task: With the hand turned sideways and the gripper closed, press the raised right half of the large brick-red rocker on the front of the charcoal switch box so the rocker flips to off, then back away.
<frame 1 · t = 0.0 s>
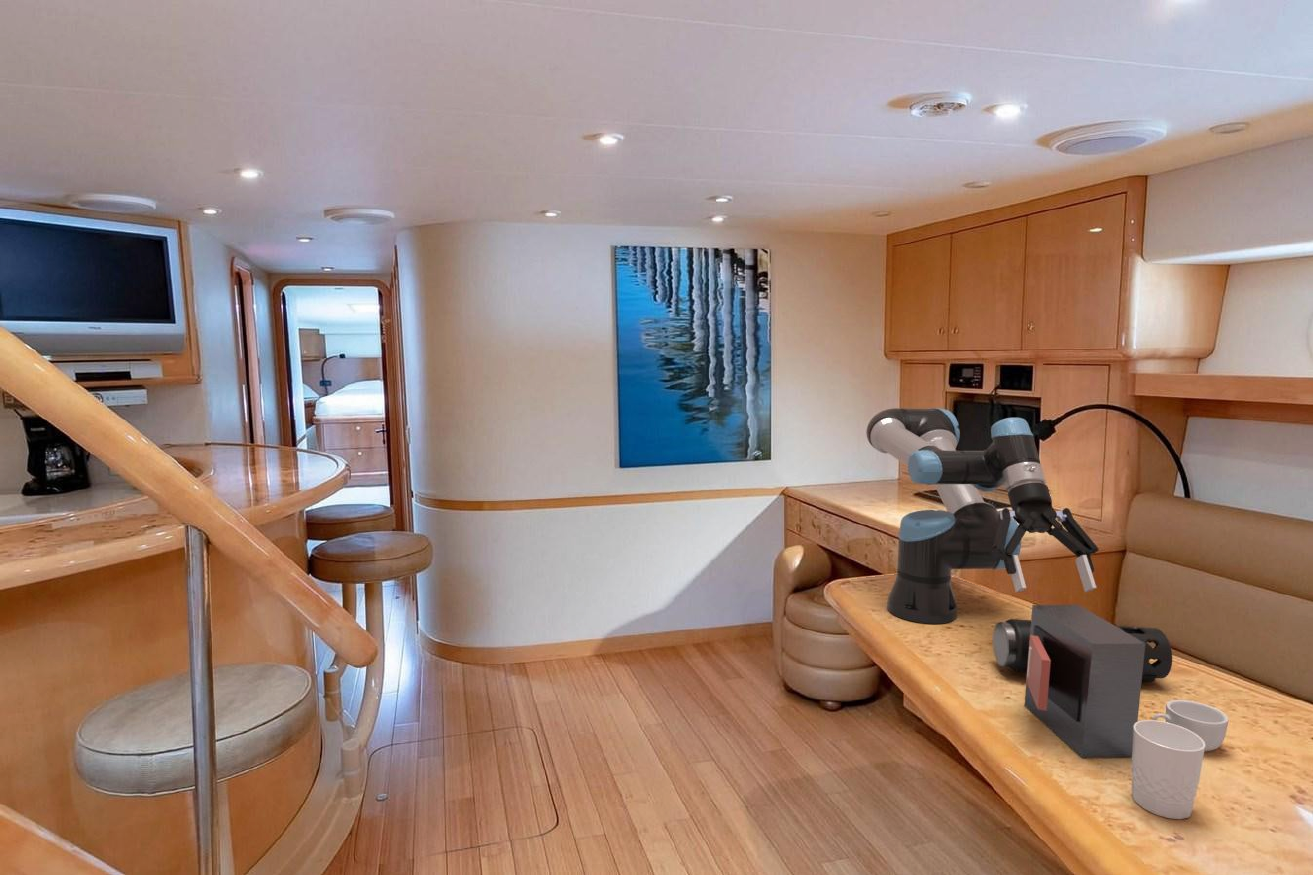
hand: (1055, 590, 139), 15 cm above the table, tool tilted 35°, fingers open, 13 cm apart
teacup: (1185, 744, 114), on the table
rocker: (1037, 671, 116), point 10 cm above the table, hinge at -20.0°
muzzle brake: (1075, 677, 137), on the table
white cup: (1161, 805, 99), on the table
switch box: (1075, 729, 118), on the table
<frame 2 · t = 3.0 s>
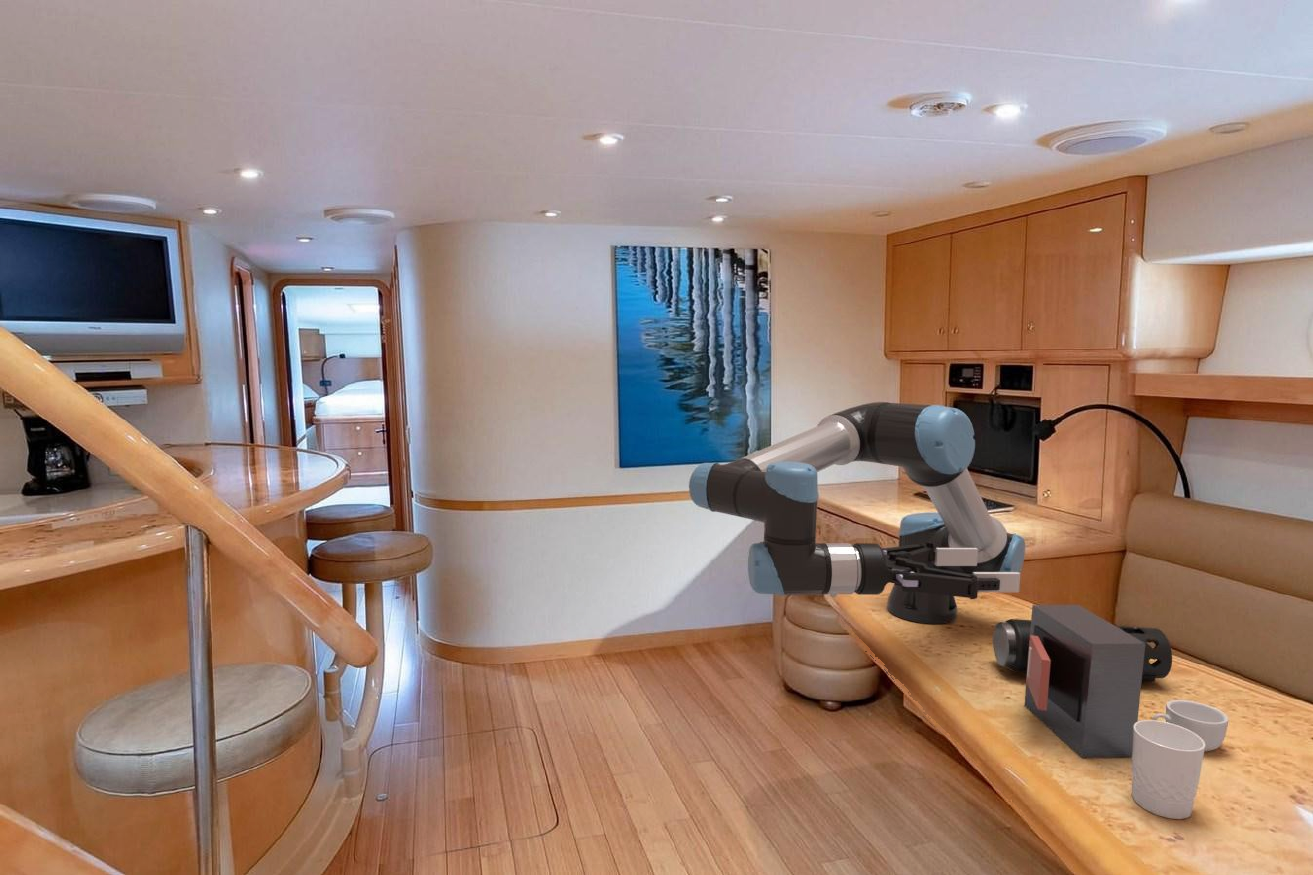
hand: (996, 568, 109), 28 cm above the table, tool horizontal, fingers open, 12 cm apart
nothing on the table moved.
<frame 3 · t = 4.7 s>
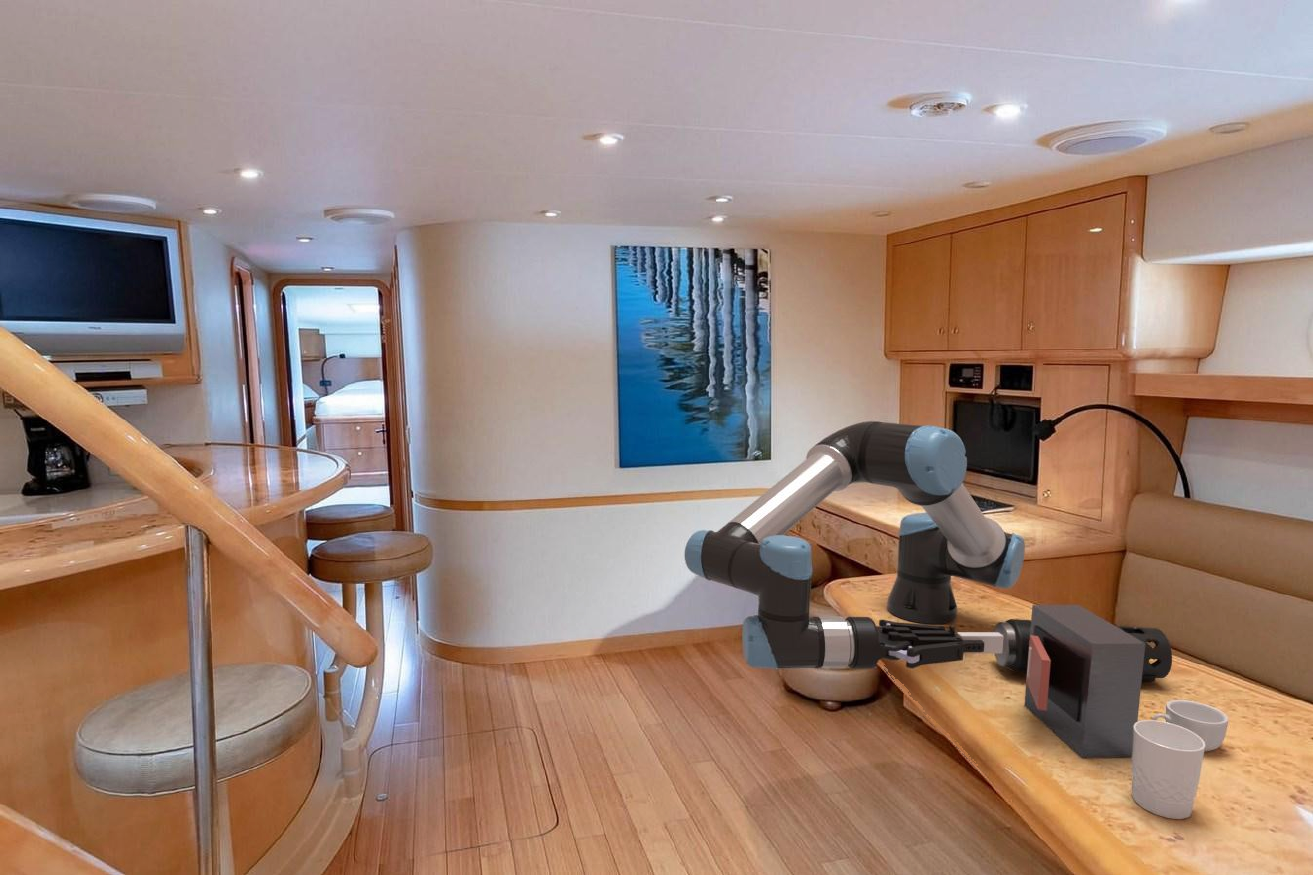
hand: (1000, 642, 110), 17 cm above the table, tool horizontal, fingers closed
nothing on the table moved.
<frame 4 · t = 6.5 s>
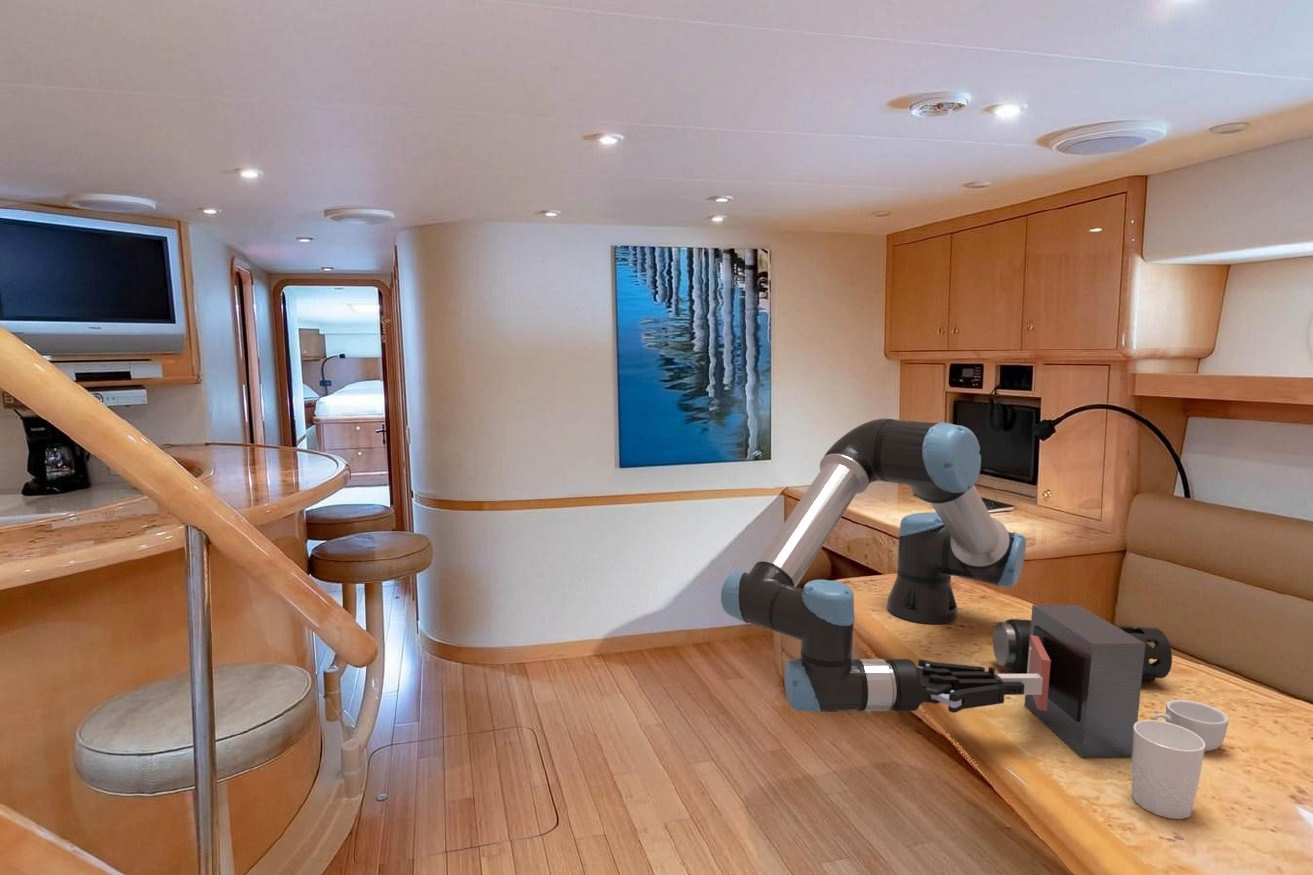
hand: (1039, 684, 112), 10 cm above the table, tool horizontal, fingers closed
rocker: (1037, 671, 116), point 10 cm above the table, hinge at -20.0°, touching gripper
everything else where it was.
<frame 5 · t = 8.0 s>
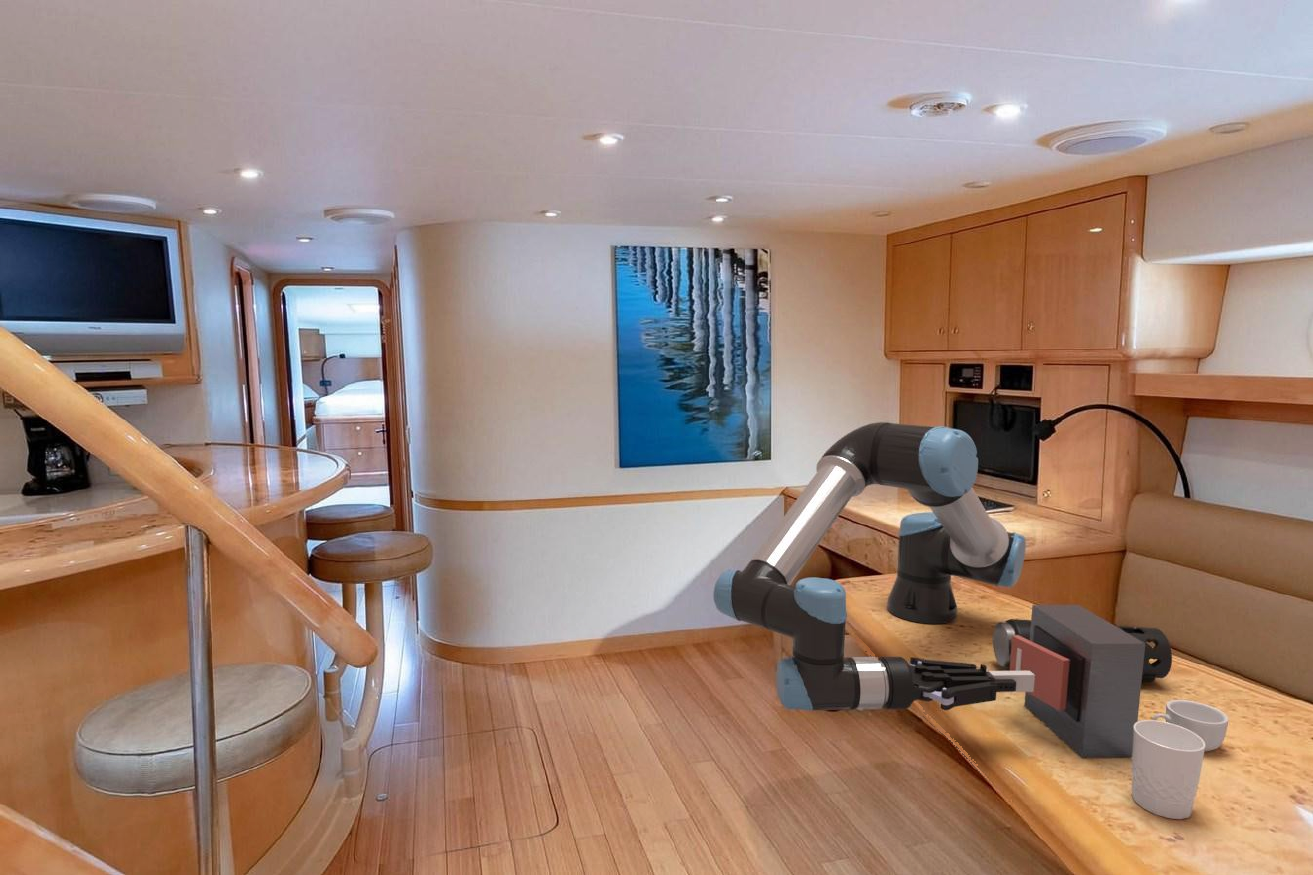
hand: (1031, 681, 112), 10 cm above the table, tool horizontal, fingers closed
rocker: (1037, 671, 116), point 10 cm above the table, hinge at 16.5°
everything else where it was.
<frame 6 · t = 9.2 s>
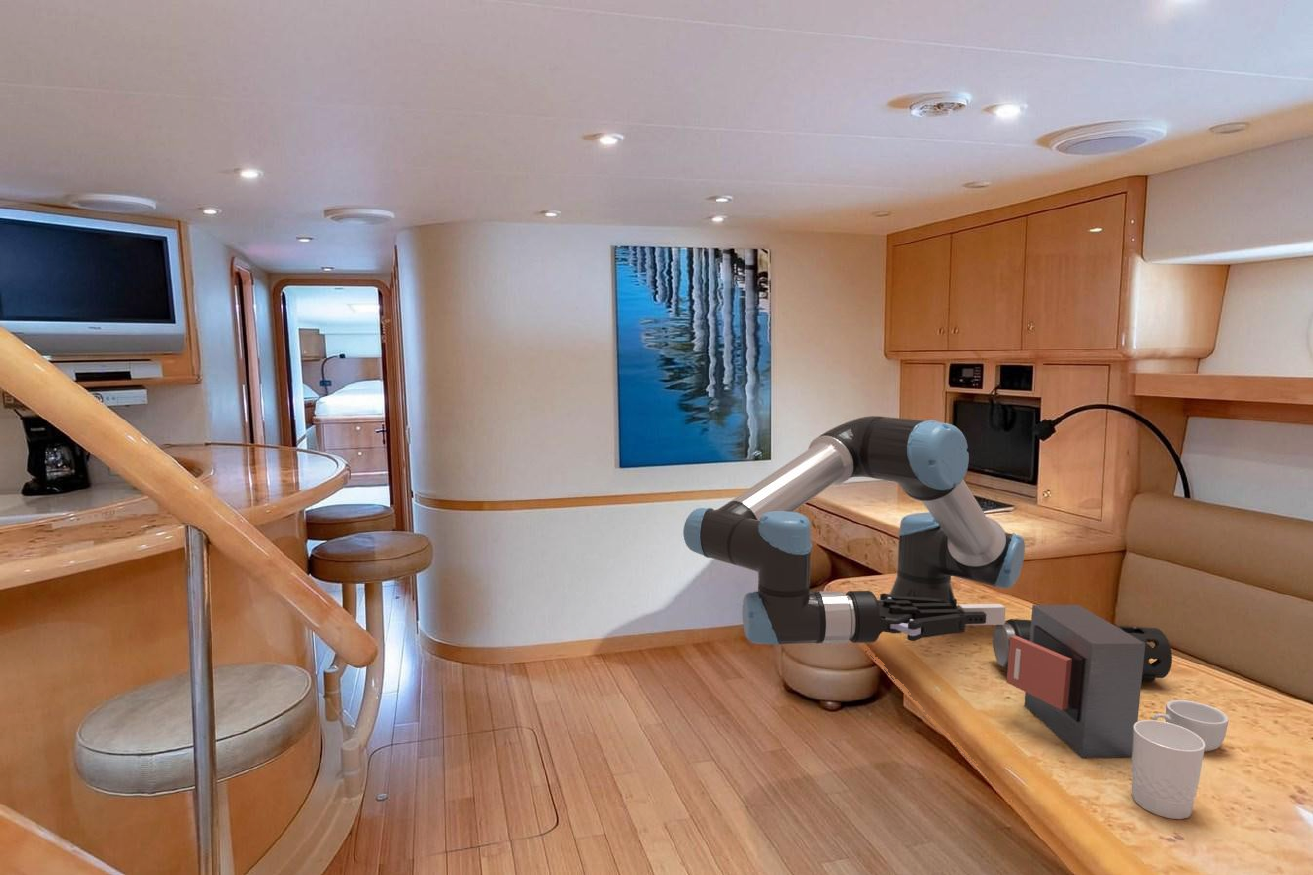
hand: (1002, 614, 110), 21 cm above the table, tool horizontal, fingers closed
rocker: (1037, 671, 116), point 10 cm above the table, hinge at 22.6°
everything else where it was.
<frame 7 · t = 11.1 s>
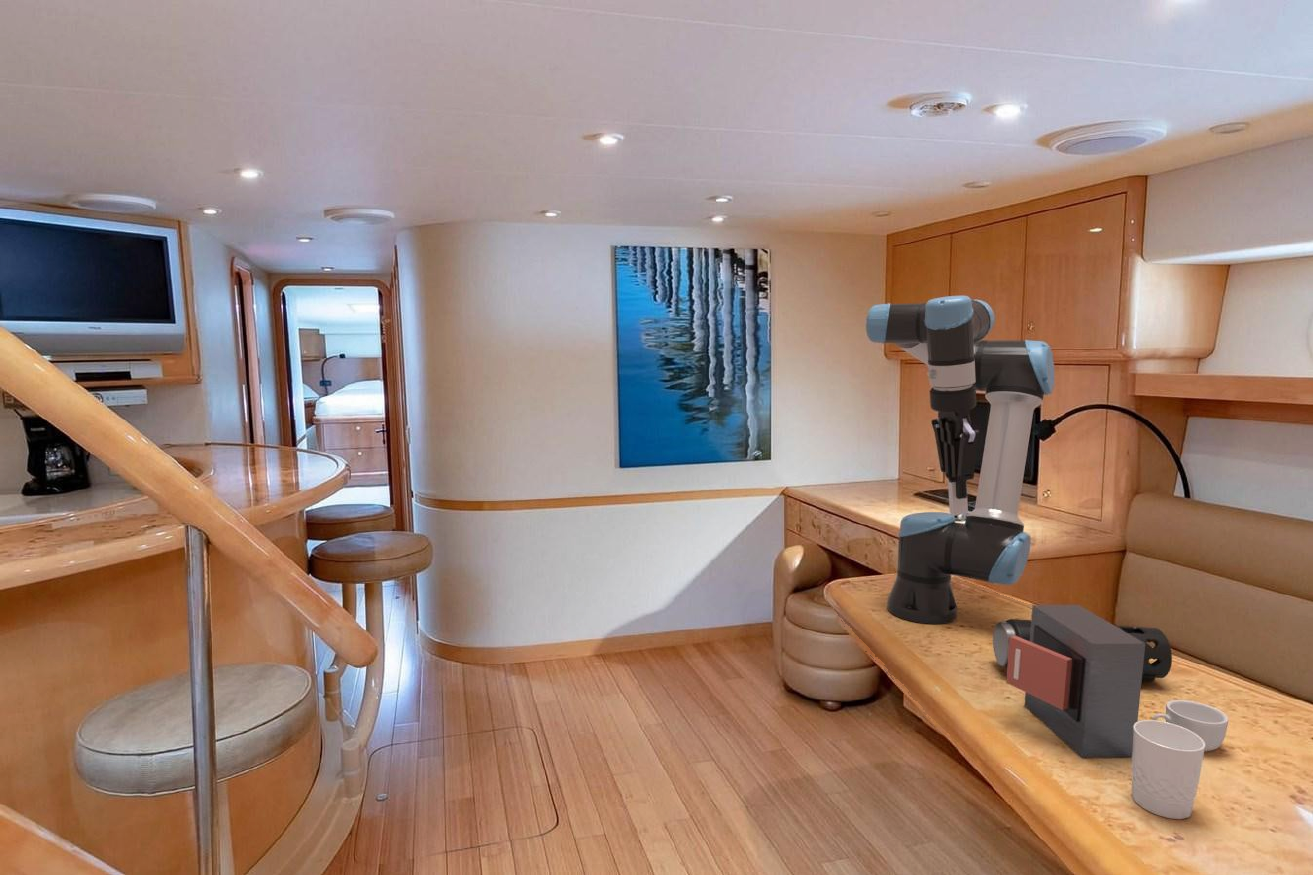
hand: (958, 513, 133), 31 cm above the table, tool pointing down, fingers closed
rocker: (1037, 671, 116), point 10 cm above the table, hinge at 23.8°
everything else where it was.
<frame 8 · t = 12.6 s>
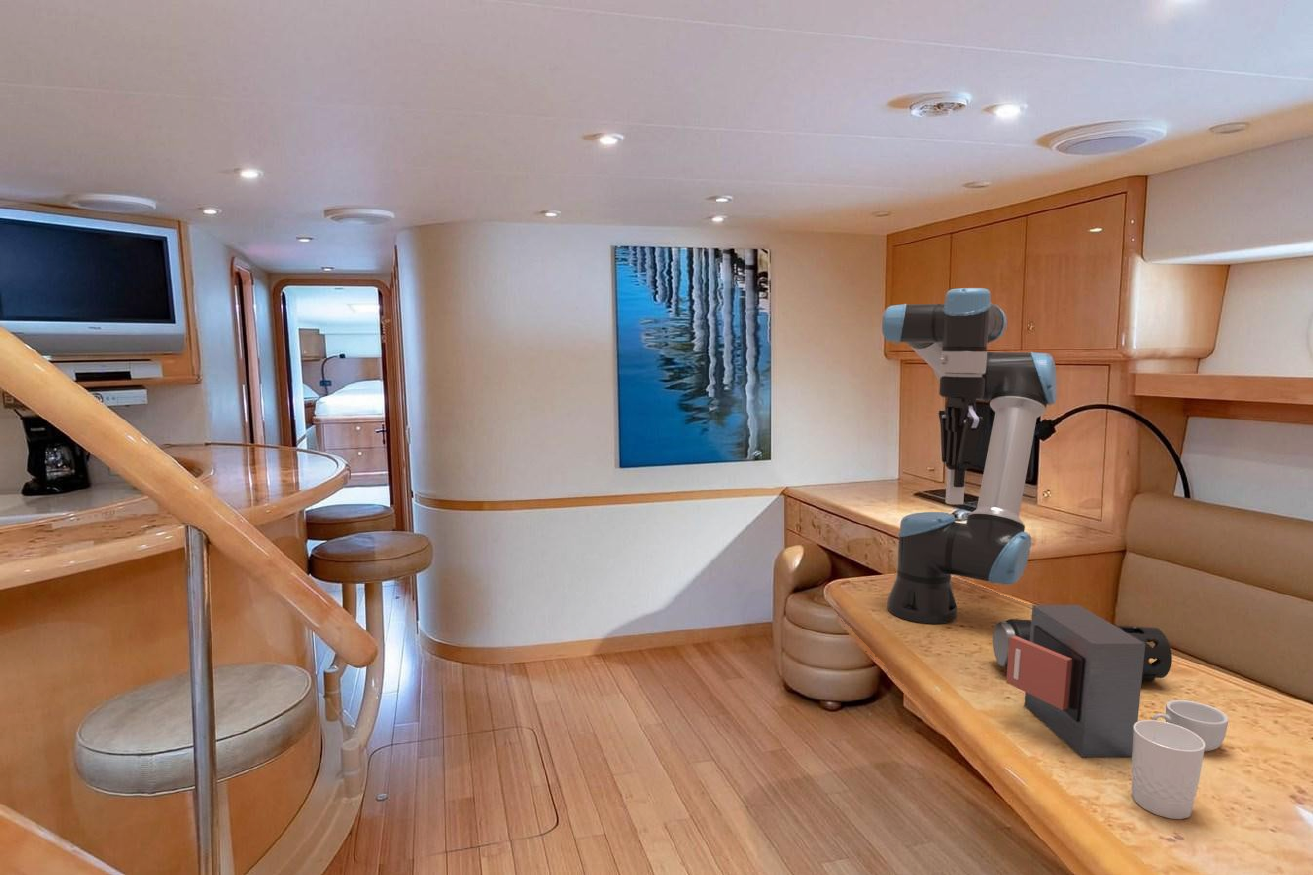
hand: (954, 503, 135), 32 cm above the table, tool pointing down, fingers closed
nothing on the table moved.
at the end: rocker at +24° (first picture: -20°); white cup moved 0.2 cm from its start; teacup moved 0.3 cm from its start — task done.
